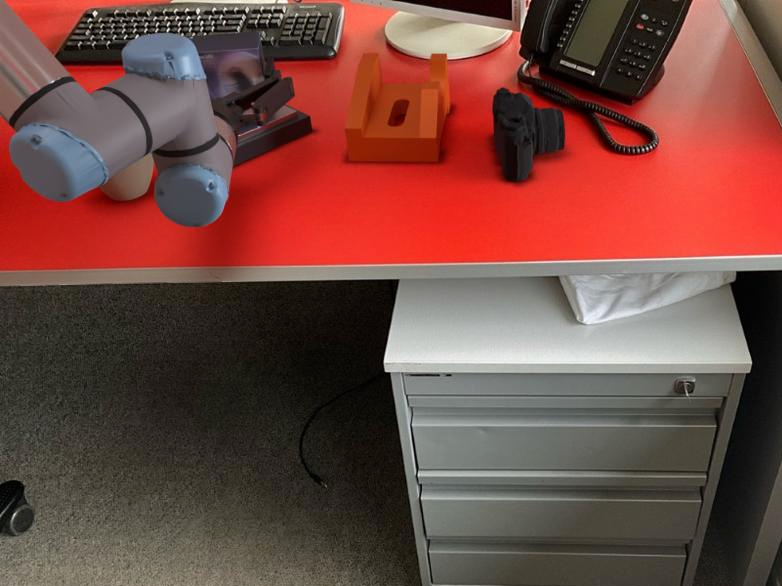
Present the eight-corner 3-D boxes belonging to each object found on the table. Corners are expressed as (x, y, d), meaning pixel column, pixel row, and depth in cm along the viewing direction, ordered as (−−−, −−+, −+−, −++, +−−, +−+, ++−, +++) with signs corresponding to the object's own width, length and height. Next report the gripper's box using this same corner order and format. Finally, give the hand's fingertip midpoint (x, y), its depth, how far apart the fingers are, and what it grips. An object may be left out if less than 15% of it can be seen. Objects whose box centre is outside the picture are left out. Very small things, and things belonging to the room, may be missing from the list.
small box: (198, 125, 128) (179, 53, 121) (202, 105, 133) (184, 35, 126) (272, 118, 130) (258, 46, 123) (273, 99, 134) (260, 29, 127)
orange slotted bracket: (369, 105, 140) (363, 53, 135) (450, 106, 139) (447, 53, 134) (349, 161, 127) (341, 105, 121) (437, 162, 126) (433, 106, 120)
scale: (171, 136, 134) (164, 114, 131) (253, 103, 142) (249, 81, 139) (228, 168, 126) (222, 145, 124) (312, 131, 134) (309, 109, 132)
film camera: (571, 178, 122) (574, 117, 116) (501, 184, 121) (500, 122, 115) (553, 128, 133) (554, 69, 127) (488, 133, 132) (487, 74, 126)
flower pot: (169, 170, 126) (155, 122, 121) (162, 206, 118) (146, 157, 114) (96, 177, 125) (79, 129, 120) (84, 214, 117) (65, 165, 113)
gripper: (109, 175, 110) (138, 101, 126) (313, 158, 112) (316, 88, 128) (89, 118, 105) (122, 48, 121) (303, 102, 107) (308, 36, 123)
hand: (222, 69), depth 124 cm, fingers open, 13 cm apart
